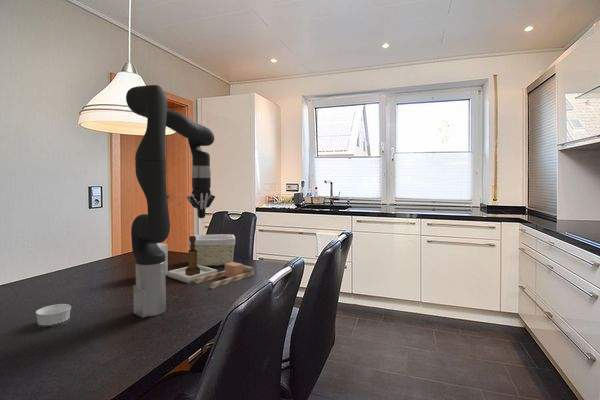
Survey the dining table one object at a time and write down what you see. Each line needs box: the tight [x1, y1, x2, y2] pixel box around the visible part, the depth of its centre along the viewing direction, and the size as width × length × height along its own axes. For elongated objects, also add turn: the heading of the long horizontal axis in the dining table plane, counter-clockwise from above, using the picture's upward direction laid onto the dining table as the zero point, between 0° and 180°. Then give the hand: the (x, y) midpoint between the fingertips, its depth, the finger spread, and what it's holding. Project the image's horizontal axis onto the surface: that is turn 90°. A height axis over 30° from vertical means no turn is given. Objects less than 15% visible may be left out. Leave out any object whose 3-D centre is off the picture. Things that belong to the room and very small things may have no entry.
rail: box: [194, 264, 255, 290], centre depth 149 cm, size 24×12×4 cm, turn 143°
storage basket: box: [188, 233, 236, 267], centre depth 178 cm, size 24×16×15 cm
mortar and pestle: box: [185, 235, 200, 276], centre depth 153 cm, size 7×6×18 cm
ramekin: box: [35, 303, 72, 326], centre depth 103 cm, size 9×9×4 cm
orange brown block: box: [224, 261, 244, 278], centre depth 153 cm, size 5×7×6 cm
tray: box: [167, 265, 218, 284], centre depth 154 cm, size 16×16×2 cm
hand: (201, 217), depth 138 cm, fingers closed
